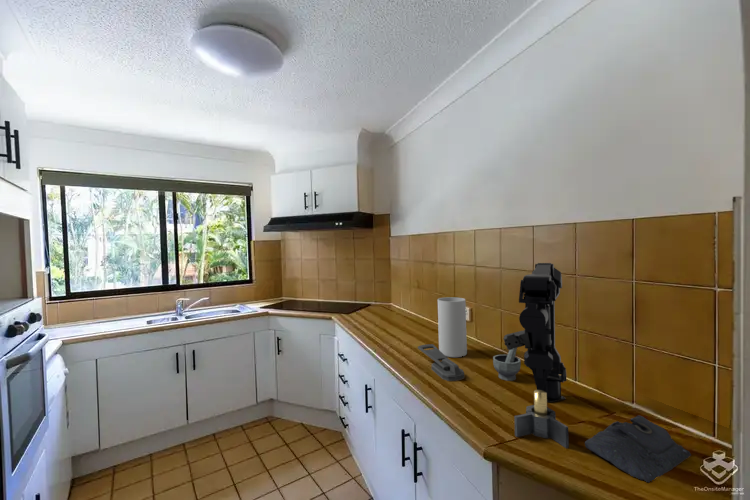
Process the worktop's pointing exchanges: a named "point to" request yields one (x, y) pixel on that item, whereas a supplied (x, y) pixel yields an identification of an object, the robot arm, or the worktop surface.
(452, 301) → the cylinder vase
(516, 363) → the mortar and pestle
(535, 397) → the brass pin
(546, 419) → the grey hollow finned part
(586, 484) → the worktop surface
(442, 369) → the zipper pull
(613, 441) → the dark slate chunk
